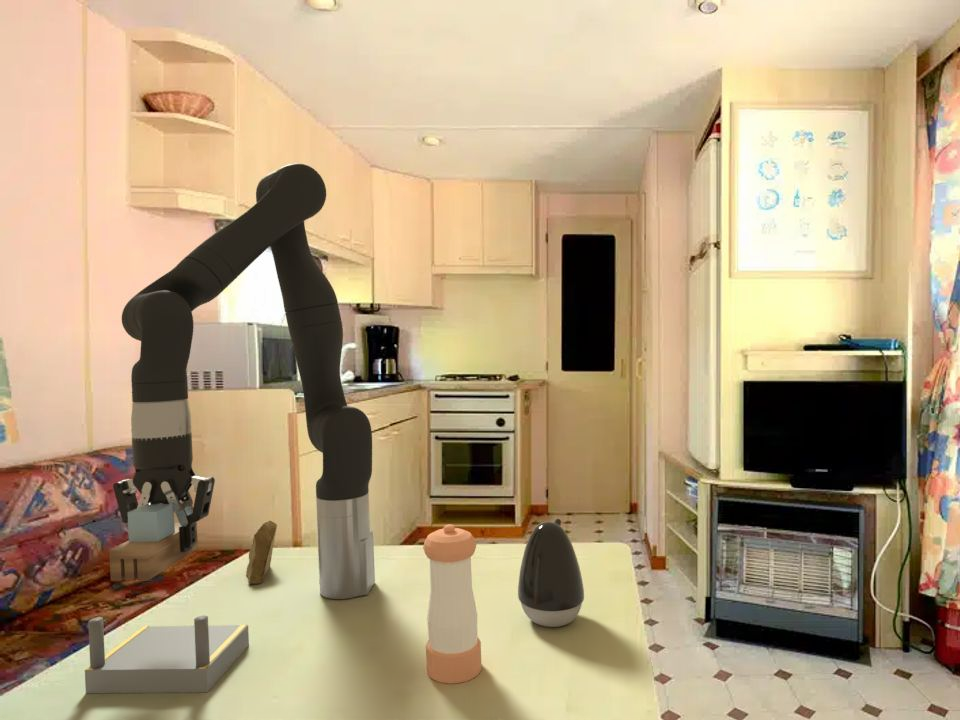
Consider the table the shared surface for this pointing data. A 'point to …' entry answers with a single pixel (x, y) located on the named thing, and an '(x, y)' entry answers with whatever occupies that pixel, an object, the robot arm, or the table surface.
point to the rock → (261, 552)
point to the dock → (164, 658)
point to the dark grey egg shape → (550, 577)
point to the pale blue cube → (150, 523)
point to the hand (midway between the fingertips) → (167, 550)
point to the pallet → (146, 557)
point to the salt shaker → (451, 607)
